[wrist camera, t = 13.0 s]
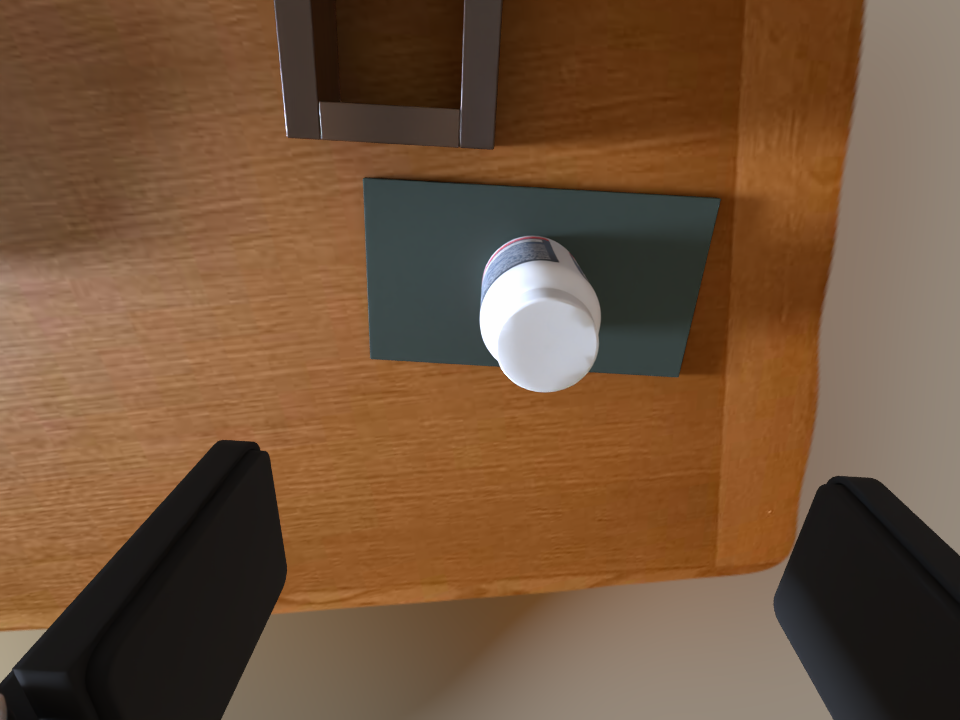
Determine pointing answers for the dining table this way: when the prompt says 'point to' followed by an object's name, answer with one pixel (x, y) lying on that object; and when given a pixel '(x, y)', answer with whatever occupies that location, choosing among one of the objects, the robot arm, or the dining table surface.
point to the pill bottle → (539, 314)
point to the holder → (323, 116)
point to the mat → (531, 212)
